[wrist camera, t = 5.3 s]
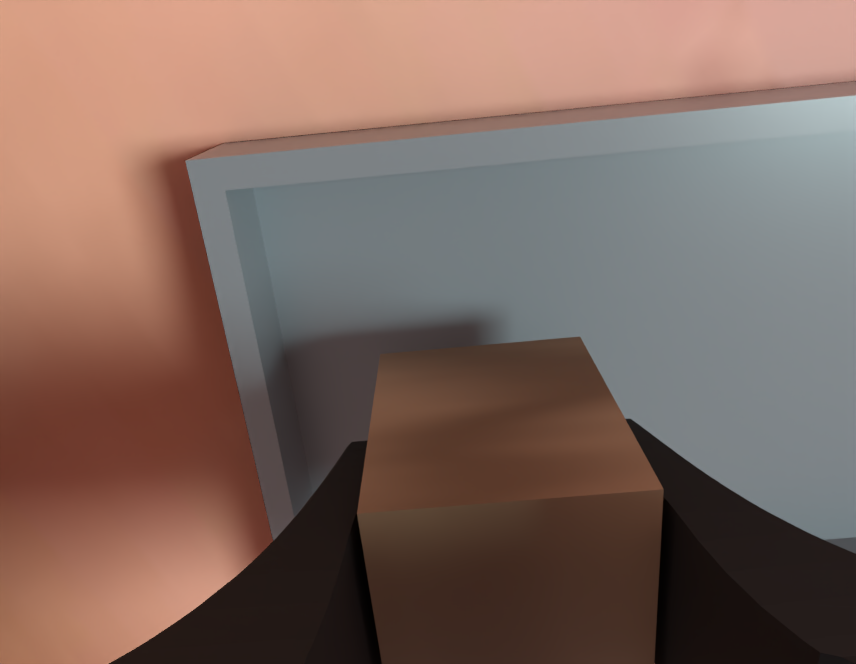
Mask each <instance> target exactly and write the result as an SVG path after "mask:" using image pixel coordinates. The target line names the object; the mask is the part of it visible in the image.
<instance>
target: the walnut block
mask: <svg viewBox="0 0 856 664" xmlns="http://www.w3.org/2000/svg"><path fill="white" fill-rule="evenodd" d="M663 493H664V489H663V487H662V485H661V483H660V482H659V480H658V478H657V476H656V474H655V472H654V471H653V469H652V467H651V465H650V463H649V461H648V460H647V458H646V456H645V454H644V452H643V451H642V449H641V447H640V445H639V443H638V441H637V440H636V438H635V436H634V434H633V432H632V430H631V429H630V427H629V425H628V423H627V421H626V419H625V418H624V416H623V414H622V412H621V410H620V408H619V407H618V405H617V403H616V401H615V399H614V398H613V396H612V394H611V392H610V390H609V388H608V387H607V385H606V383H605V381H604V379H603V377H602V376H601V374H600V372H599V370H598V368H597V366H596V365H595V363H594V361H593V359H592V357H591V356H590V354H589V352H588V350H587V348H586V346H585V345H584V343H583V341H582V339H581V337H569V338H557V339H546V340H534V341H523V342H512V343H500V344H489V345H477V346H466V347H454V348H443V349H432V350H420V351H409V352H397V353H386V354H380V359H379V366H378V373H377V380H376V386H375V393H374V400H373V407H372V414H371V421H370V428H369V435H368V441H367V448H366V455H365V462H364V469H363V476H362V483H361V490H360V496H359V503H358V510H357V517H358V523H359V529H360V535H361V541H362V547H363V553H364V559H365V565H366V571H367V577H368V583H369V589H370V595H371V601H372V607H373V613H374V619H375V625H376V631H377V637H378V643H379V649H380V655H381V661H382V664H654V660H655V642H656V623H657V604H658V586H659V567H660V549H661V530H662V512H663Z"/></svg>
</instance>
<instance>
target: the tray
mask: <svg viewBox="0 0 856 664" xmlns="http://www.w3.org/2000/svg"><path fill="white" fill-rule="evenodd" d="M185 162H186V166H187V170H188V175H189V179H190V183H191V188H192V192H193V196H194V201H195V205H196V209H197V214H198V218H199V222H200V226H201V231H202V235H203V239H204V244H205V248H206V252H207V257H208V261H209V265H210V270H211V274H212V278H213V283H214V287H215V291H216V296H217V300H218V304H219V309H220V313H221V317H222V322H223V326H224V330H225V335H226V339H227V343H228V348H229V352H230V356H231V361H232V365H233V369H234V374H235V378H236V382H237V387H238V391H239V395H240V400H241V404H242V408H243V413H244V417H245V421H246V426H247V430H248V434H249V439H250V443H251V447H252V452H253V456H254V460H255V465H256V469H257V473H258V478H259V482H260V486H261V491H262V495H263V499H264V504H265V508H266V512H267V517H268V521H269V525H270V530H271V534H272V538H273V541H274V540H275V539H276V538H277V537H278V535H279V534H280V533H281V532H282V531H283V530H284V529H285V527H286V526H287V525H288V524H289V523H290V522H291V521H292V519H293V518H294V517H295V516H296V515H297V514H298V513H299V511H300V510H301V509H302V508H303V506H304V505H305V504H306V503H307V501H308V500H309V499H310V497H311V496H312V495H313V494H314V492H315V491H316V490H317V488H318V487H319V486H320V485H321V483H322V482H323V480H324V479H325V478H326V476H327V475H328V473H329V472H330V471H331V469H332V468H333V466H334V465H335V464H336V462H337V461H338V459H339V458H340V456H341V455H342V453H343V452H344V450H345V449H346V447H347V446H348V445H349V444H350V443H351V442H355V441H367V440H368V435H369V428H370V421H371V414H372V407H373V400H374V393H375V386H376V380H377V373H378V366H379V359H380V354H386V353H397V352H409V351H420V350H432V349H443V348H454V347H466V346H477V345H489V344H500V343H512V342H523V341H534V340H546V339H557V338H569V337H581V339H582V341H583V343H584V345H585V346H586V348H587V350H588V352H589V354H590V356H591V357H592V359H593V361H594V363H595V365H596V366H597V368H598V370H599V372H600V374H601V376H602V377H603V379H604V381H605V383H606V385H607V387H608V388H609V390H610V392H611V394H612V396H613V398H614V399H615V401H616V403H617V405H618V407H619V408H620V410H621V412H622V414H623V416H624V418H625V419H632V420H633V421H635V422H636V423H637V424H639V425H640V426H641V427H643V428H644V429H645V430H647V431H648V432H649V433H651V434H652V435H653V436H655V437H656V438H657V439H659V440H660V441H661V442H663V443H664V444H665V445H667V446H668V447H669V448H671V449H672V450H673V451H675V452H676V453H677V454H679V455H680V456H682V457H683V458H684V459H686V460H687V461H689V462H690V463H691V464H693V465H694V466H696V467H697V468H698V469H700V470H701V471H703V472H704V473H706V474H707V475H709V476H710V477H712V478H713V479H715V480H716V481H718V482H719V483H721V484H722V485H724V486H725V487H727V488H729V489H730V490H732V491H734V492H735V493H737V494H738V495H740V496H742V497H743V498H745V499H746V500H748V501H750V502H751V503H753V504H755V505H757V506H758V507H760V508H762V509H764V510H765V511H767V512H769V513H771V514H773V515H775V516H777V517H779V518H781V519H783V520H784V521H786V522H788V523H790V524H792V525H794V526H796V527H798V528H800V529H802V530H804V531H806V532H808V533H810V534H812V535H814V536H817V537H819V538H821V539H823V540H825V541H827V542H830V543H832V544H834V545H837V546H839V547H841V548H844V549H846V550H848V551H851V552H853V553H855V554H856V81H852V82H842V83H831V84H821V85H811V86H801V87H791V88H780V89H770V90H760V91H750V92H740V93H729V94H719V95H709V96H699V97H689V98H678V99H668V100H658V101H648V102H637V103H627V104H617V105H607V106H597V107H586V108H576V109H566V110H556V111H546V112H535V113H525V114H515V115H505V116H495V117H484V118H474V119H464V120H454V121H444V122H433V123H423V124H413V125H403V126H393V127H382V128H372V129H362V130H352V131H342V132H331V133H321V134H311V135H301V136H291V137H280V138H270V139H260V140H250V141H240V142H229V143H223V144H221V145H218V146H216V147H214V148H212V149H210V150H207V151H205V152H203V153H201V154H199V155H196V156H194V157H192V158H190V159H188V160H185Z"/></svg>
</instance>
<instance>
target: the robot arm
mask: <svg viewBox="0 0 856 664" xmlns="http://www.w3.org/2000/svg"><path fill="white" fill-rule="evenodd" d="M626 421H627V423H628V425H629V427H630V429H631V430H632V432H633V434H634V436H635V438H636V440H637V441H638V443H639V445H640V447H641V449H642V451H643V452H644V454H645V456H646V458H647V460H648V461H649V463H650V465H651V467H652V469H653V471H654V472H655V474H656V476H657V478H658V480H659V482H660V483H661V485H662V487H663V489H664V493H663V512H662V530H661V549H660V567H659V586H658V604H657V623H656V642H655V660H654V663H655V664H856V554H855V553H853V552H851V551H848V550H846V549H844V548H841V547H839V546H837V545H834V544H832V543H830V542H827V541H825V540H823V539H821V538H819V537H817V536H814V535H812V534H810V533H808V532H806V531H804V530H802V529H800V528H798V527H796V526H794V525H792V524H790V523H788V522H786V521H784V520H783V519H781V518H779V517H777V516H775V515H773V514H771V513H769V512H767V511H765V510H764V509H762V508H760V507H758V506H757V505H755V504H753V503H751V502H750V501H748V500H746V499H745V498H743V497H742V496H740V495H738V494H737V493H735V492H734V491H732V490H730V489H729V488H727V487H725V486H724V485H722V484H721V483H719V482H718V481H716V480H715V479H713V478H712V477H710V476H709V475H707V474H706V473H704V472H703V471H701V470H700V469H698V468H697V467H696V466H694V465H693V464H691V463H690V462H689V461H687V460H686V459H684V458H683V457H682V456H680V455H679V454H677V453H676V452H675V451H673V450H672V449H671V448H669V447H668V446H667V445H665V444H664V443H663V442H661V441H660V440H659V439H657V438H656V437H655V436H653V435H652V434H651V433H649V432H648V431H647V430H645V429H644V428H643V427H641V426H640V425H639V424H637V423H636V422H635V421H633V420H632V419H626ZM367 441H368V440H367ZM367 441H355V442H351V443H350V444H349V445H348V446H347V447H346V449H345V450H344V452H343V453H342V455H341V456H340V458H339V459H338V461H337V462H336V464H335V465H334V466H333V468H332V469H331V471H330V472H329V473H328V475H327V476H326V478H325V479H324V480H323V482H322V483H321V485H320V486H319V487H318V488H317V490H316V491H315V492H314V494H313V495H312V496H311V497H310V499H309V500H308V501H307V503H306V504H305V505H304V506H303V508H302V509H301V510H300V511H299V513H298V514H297V515H296V516H295V517H294V518H293V519H292V521H291V522H290V523H289V524H288V525H287V526H286V527H285V529H284V530H283V531H282V532H281V533H280V534H279V535H278V537H277V538H276V539H275V540H274V541H273V542H272V543H271V544H270V545H269V546H268V547H267V548H266V549H265V550H264V551H263V552H262V553H261V554H260V555H259V556H258V557H257V558H256V559H255V560H254V561H253V562H252V563H251V564H249V565H248V566H247V567H246V568H245V569H244V570H243V571H242V572H241V573H239V574H238V575H237V576H236V577H235V578H234V579H232V580H231V581H230V582H229V583H227V584H226V585H225V586H223V587H222V588H221V589H220V590H218V591H217V592H216V593H215V594H213V595H212V596H211V597H210V598H208V599H207V600H206V601H205V602H203V603H202V604H201V605H200V606H198V607H197V608H196V609H194V610H193V611H192V612H190V613H189V614H187V615H186V616H184V617H183V618H182V619H180V620H179V621H177V622H176V623H174V624H173V625H172V626H170V627H168V628H167V629H165V630H164V631H162V632H161V633H159V634H158V635H156V636H155V637H153V638H152V639H150V640H149V641H147V642H145V643H144V644H142V645H140V646H139V647H137V648H136V649H134V650H132V651H131V652H129V653H127V654H125V655H124V656H122V657H120V658H118V659H116V660H115V661H113V662H111V663H109V664H382V661H381V655H380V649H379V643H378V637H377V631H376V625H375V619H374V613H373V607H372V601H371V595H370V589H369V583H368V577H367V571H366V565H365V559H364V553H363V547H362V541H361V535H360V529H359V523H358V517H357V510H358V503H359V496H360V490H361V483H362V476H363V469H364V462H365V455H366V448H367Z"/></svg>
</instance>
